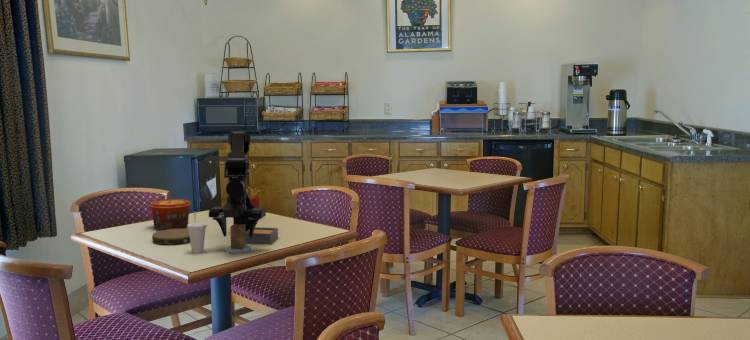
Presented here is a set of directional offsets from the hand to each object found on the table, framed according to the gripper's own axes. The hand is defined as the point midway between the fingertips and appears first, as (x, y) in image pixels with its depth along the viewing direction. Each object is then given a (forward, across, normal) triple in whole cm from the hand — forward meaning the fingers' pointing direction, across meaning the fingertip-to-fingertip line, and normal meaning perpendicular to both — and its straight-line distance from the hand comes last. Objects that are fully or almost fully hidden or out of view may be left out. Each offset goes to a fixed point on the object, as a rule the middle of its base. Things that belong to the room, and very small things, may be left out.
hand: (237, 236), depth 202 cm
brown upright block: (+4, 0, 0) cm, 4 cm away
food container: (+5, -39, +31) cm, 50 cm away
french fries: (+5, -12, +49) cm, 51 cm away
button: (+3, +4, +14) cm, 15 cm away
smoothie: (+5, -13, -4) cm, 14 cm away
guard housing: (+5, +4, +14) cm, 15 cm away
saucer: (+5, 0, 0) cm, 5 cm away
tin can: (+5, -28, +11) cm, 31 cm away
